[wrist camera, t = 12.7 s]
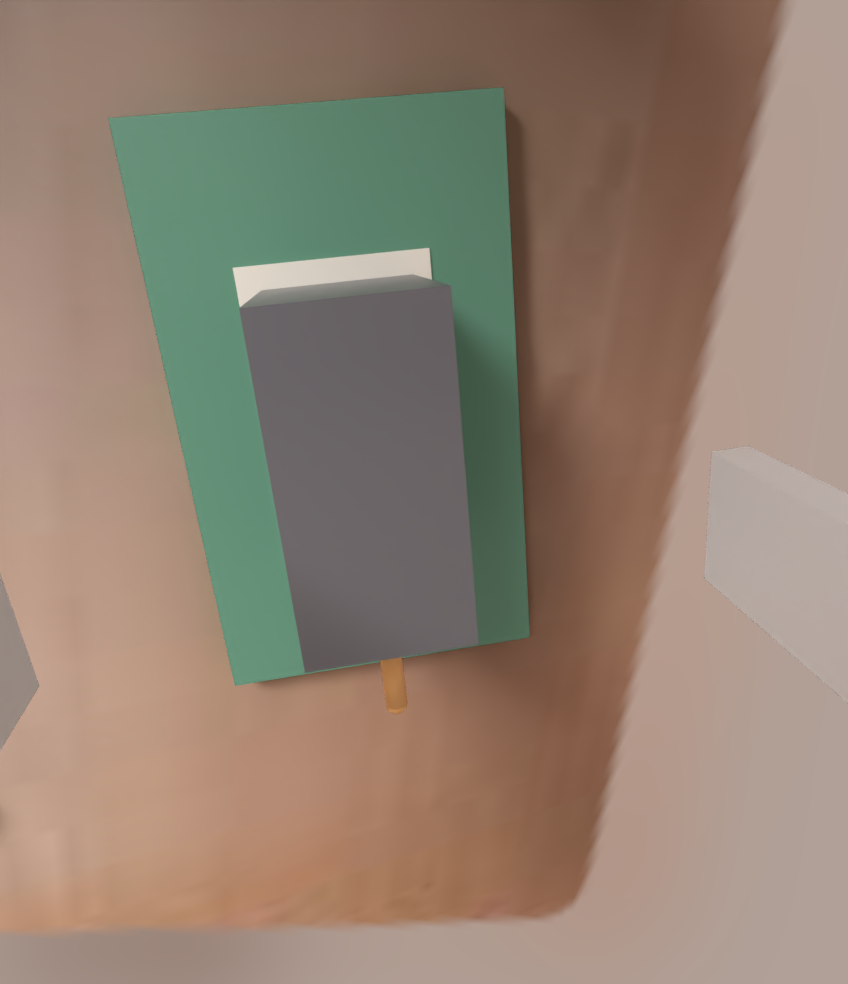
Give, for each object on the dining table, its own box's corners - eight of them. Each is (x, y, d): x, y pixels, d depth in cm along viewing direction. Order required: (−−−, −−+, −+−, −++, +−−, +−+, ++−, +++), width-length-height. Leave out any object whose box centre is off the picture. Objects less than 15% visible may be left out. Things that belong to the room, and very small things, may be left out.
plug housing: (261, 290, 23) (238, 308, 16) (412, 274, 23) (450, 285, 17) (320, 642, 27) (322, 768, 21) (446, 622, 28) (485, 738, 21)
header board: (118, 124, 22) (61, 89, 17) (494, 94, 23) (542, 54, 18) (238, 668, 29) (222, 755, 24) (521, 622, 30) (561, 695, 25)
